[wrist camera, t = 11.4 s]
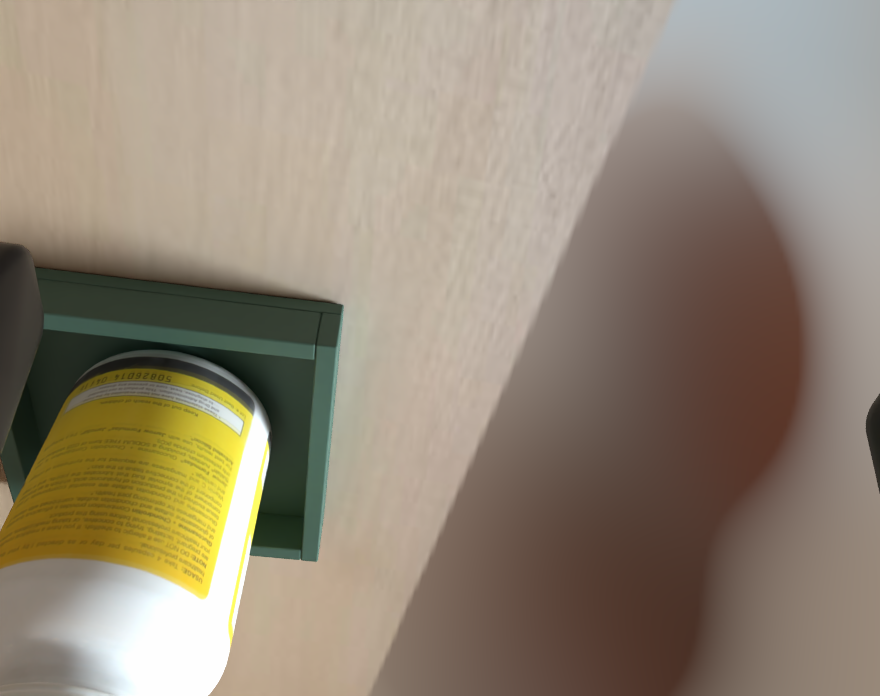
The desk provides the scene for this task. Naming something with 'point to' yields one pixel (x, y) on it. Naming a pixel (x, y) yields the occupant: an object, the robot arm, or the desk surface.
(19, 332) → the robot arm
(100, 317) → the tray
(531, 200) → the desk surface
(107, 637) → the pill bottle
